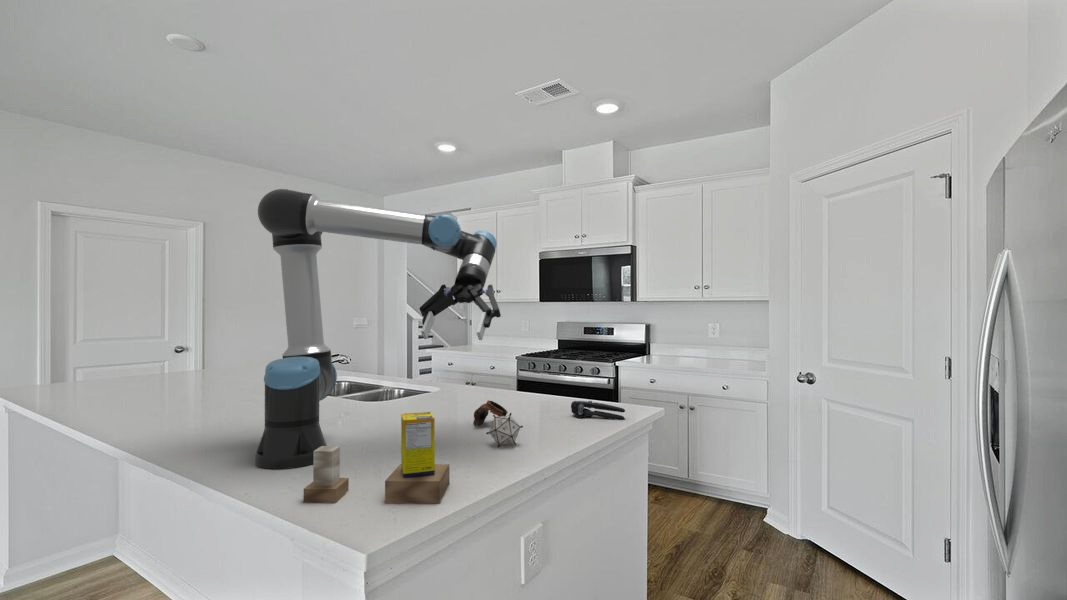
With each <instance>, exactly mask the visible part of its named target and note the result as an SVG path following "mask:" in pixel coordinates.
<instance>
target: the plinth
mask: <svg viewBox="0 0 1067 600" xmlns="http://www.w3.org/2000/svg"><path fill="white" fill-rule="evenodd" d="M450 468H451V467H450V463H447V464H445V463H443V464H442V463H435V474H434V475H423V476H414V477H406V478H403V473H402V465H401V463H400V464H398V466H397V467H396V468H395V469H394V470H393V471H392V472H391V474H389V476H388V477H387V478H386V479H385V480H384V503H385V504H441V501H442V499H443V498H444V496H445V494H446V492H447V490H448V488H449V486H450V482H451V481H450V480H451V479H450V472H451V470H450Z"/></svg>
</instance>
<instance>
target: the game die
mask: <svg viewBox="0 0 1067 600" xmlns="http://www.w3.org/2000/svg"><path fill="white" fill-rule="evenodd" d="M492 417H493V420H492V424H491V427H490V429H489V431H487V432H486V433H485V434H486V435H490V436H491V437H492V439H493V440H494V441H495V442H496V443H497V448H498V449H499V448H500V446H501V445H508V444H513V445H514V446H517V443H516V440H517V437H518V434H519V432H520V430H521V429H522V428H523V427H524V425H519V423H518V422H517V421H516V420H515V419H514V418H513V416H512V412H510V413H509V414H508V415H506V416H496V415H495V414H493V415H492Z"/></svg>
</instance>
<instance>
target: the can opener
mask: <svg viewBox="0 0 1067 600" xmlns="http://www.w3.org/2000/svg"><path fill="white" fill-rule="evenodd" d="M570 408H571V409H570V410H571V413H572V414H574V415H575V416H576V417H578V418H579V417H585V418H588V417H594V416H595V417H600V418H605V419H608V418H611V419H610V420H615V419H623V420H624V419H625V417H624V416H623V415H620V414H616V413H611V412H617V413H625V412H626V410H625V408H623V407H620V406H616V405H611V404H605V403H600V402H593V401H592V400H588V401H583V400H574V401H572V402H571V404H570ZM591 409H594V410H593V411H592V410H591ZM606 411H611V412H606ZM587 416H588V417H587Z"/></svg>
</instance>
